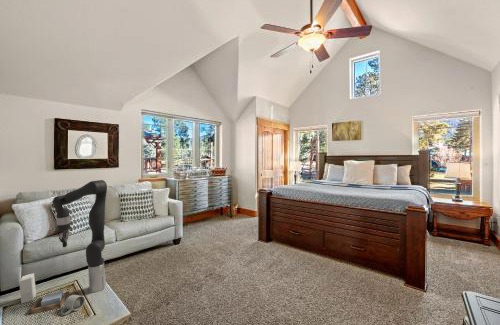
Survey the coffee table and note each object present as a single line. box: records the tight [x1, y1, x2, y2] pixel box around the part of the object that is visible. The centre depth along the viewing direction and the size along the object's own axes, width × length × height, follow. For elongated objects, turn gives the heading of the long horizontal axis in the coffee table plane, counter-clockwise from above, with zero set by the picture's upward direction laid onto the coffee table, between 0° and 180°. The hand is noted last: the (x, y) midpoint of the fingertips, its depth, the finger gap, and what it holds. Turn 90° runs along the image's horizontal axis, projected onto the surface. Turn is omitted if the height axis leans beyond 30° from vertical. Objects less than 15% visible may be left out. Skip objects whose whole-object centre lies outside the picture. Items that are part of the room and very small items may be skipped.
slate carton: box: [40, 290, 64, 307], centre depth 145 cm, size 9×8×5 cm
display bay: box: [28, 291, 69, 315], centre depth 144 cm, size 15×13×2 cm
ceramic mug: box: [60, 294, 86, 316], centre depth 139 cm, size 11×8×8 cm
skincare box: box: [18, 272, 37, 304], centre depth 150 cm, size 8×6×15 cm
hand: (64, 246), depth 166 cm, fingers closed
